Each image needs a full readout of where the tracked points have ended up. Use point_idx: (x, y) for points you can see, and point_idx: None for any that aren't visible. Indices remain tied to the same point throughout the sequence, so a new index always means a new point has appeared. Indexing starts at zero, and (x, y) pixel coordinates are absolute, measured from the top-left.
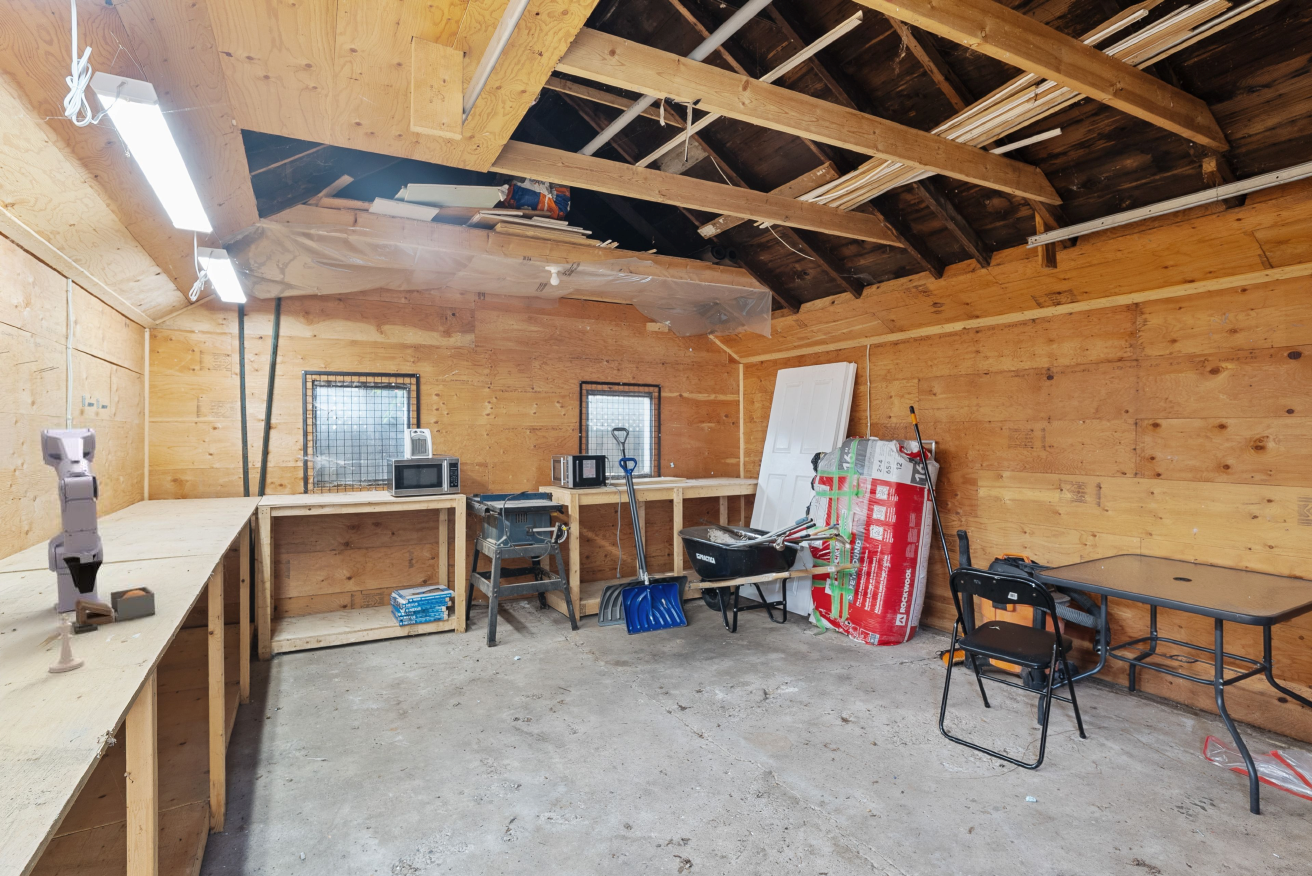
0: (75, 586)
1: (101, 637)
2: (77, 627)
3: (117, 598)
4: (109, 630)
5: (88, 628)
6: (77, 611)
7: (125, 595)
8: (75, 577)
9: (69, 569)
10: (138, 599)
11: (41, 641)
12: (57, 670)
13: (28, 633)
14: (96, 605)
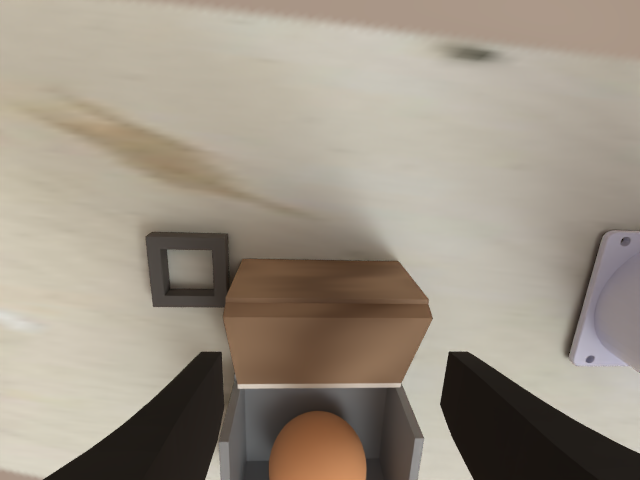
0: (452, 356)
1: (14, 292)
2: (197, 248)
3: (402, 429)
4: (111, 326)
5: (151, 276)
6: (340, 282)
7: (319, 470)
8: (114, 441)
9: (574, 447)
10: None
11: (134, 113)
12: None
13: (340, 90)
14: (308, 356)
